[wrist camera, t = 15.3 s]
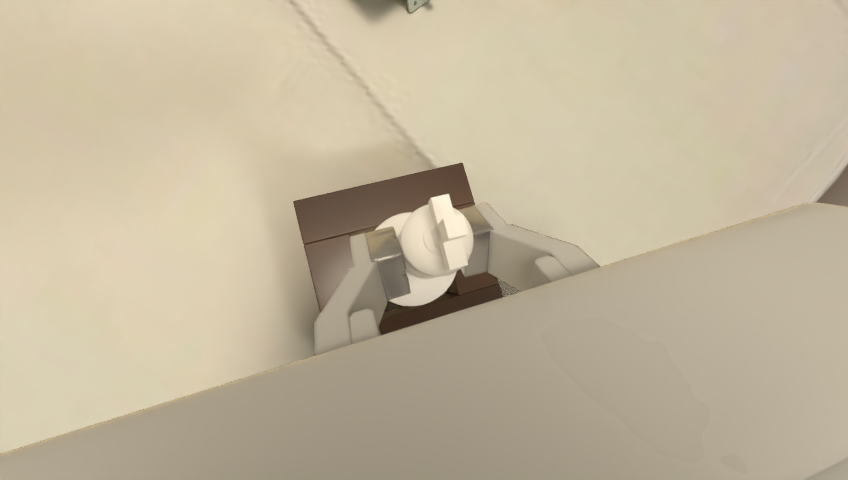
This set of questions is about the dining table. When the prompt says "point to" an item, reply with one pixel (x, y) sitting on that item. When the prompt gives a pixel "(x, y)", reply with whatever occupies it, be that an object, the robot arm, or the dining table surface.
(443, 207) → the chess piece
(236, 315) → the dining table surface
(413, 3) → the metal bracket
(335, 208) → the socket block
